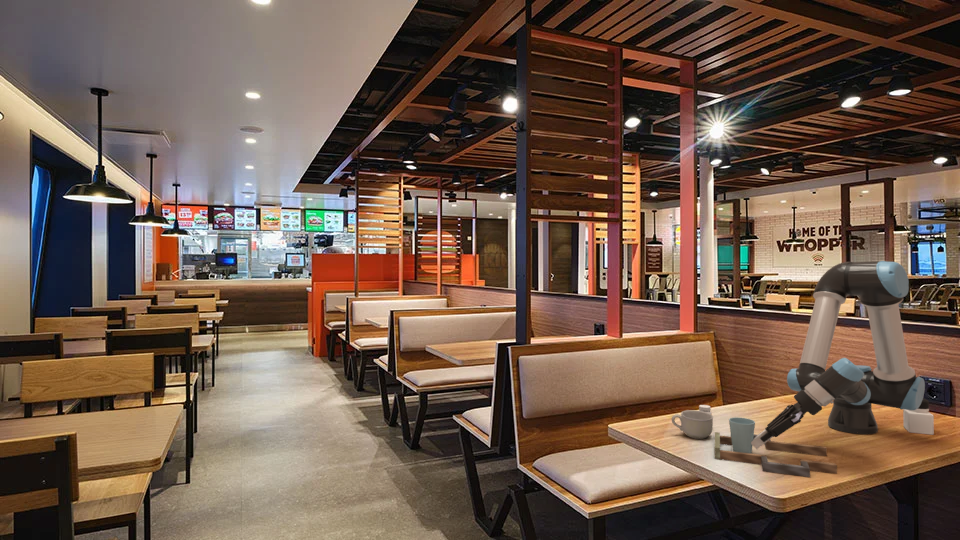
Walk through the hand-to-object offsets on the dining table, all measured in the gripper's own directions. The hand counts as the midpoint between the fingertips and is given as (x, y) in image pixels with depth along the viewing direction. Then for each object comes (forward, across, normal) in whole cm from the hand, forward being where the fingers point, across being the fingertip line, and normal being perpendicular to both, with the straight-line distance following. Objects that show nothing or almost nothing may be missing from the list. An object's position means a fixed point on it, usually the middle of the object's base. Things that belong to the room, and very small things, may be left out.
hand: (753, 445), depth 169 cm
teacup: (+16, +13, +11) cm, 23 cm away
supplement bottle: (+13, +24, +8) cm, 29 cm away
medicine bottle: (-37, +49, -42) cm, 75 cm away
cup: (+5, +1, 0) cm, 5 cm away
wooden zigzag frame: (-1, 0, -6) cm, 6 cm away
